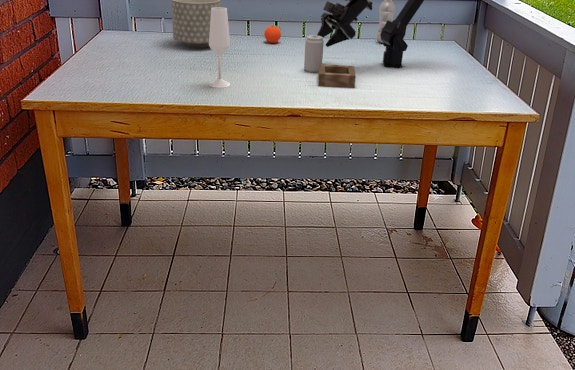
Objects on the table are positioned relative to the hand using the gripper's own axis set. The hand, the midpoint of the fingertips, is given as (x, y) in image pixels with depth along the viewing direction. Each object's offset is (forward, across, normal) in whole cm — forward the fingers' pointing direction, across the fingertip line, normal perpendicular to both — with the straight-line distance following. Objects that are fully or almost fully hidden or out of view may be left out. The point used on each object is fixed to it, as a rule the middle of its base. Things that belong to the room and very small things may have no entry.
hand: (321, 42), depth 202 cm
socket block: (+7, +14, +7) cm, 17 cm away
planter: (+32, -44, -17) cm, 57 cm away
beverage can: (+9, 0, +5) cm, 10 cm away
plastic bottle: (-25, -33, +38) cm, 56 cm away
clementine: (+9, -42, +5) cm, 44 cm away
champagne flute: (+35, +8, -20) cm, 41 cm away
